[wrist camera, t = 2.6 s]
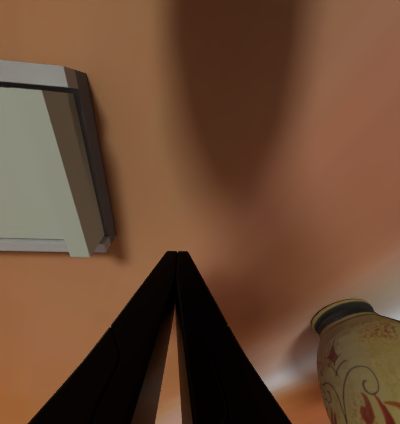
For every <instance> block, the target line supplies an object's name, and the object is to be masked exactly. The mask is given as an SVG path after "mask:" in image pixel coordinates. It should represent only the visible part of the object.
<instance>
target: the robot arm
mask: <svg viewBox="0 0 400 424" xmlns="http://www.w3.org/2000/svg"><path fill="white" fill-rule="evenodd" d="M174 310H175V315H176V331H177V347H178V364H179V380H180V396H181V413H182V424H292V423H291V422H290V420H289V419H288V417H287V416H286V414H285V413H284V411H283V410H282V408H281V407H280V406H279V404H278V403H277V401H276V400H275V398H274V397H273V395H272V394H271V392H270V391H269V390H268V388H267V387H266V385H265V384H264V382H263V381H262V379H261V378H260V376H259V375H258V373H257V372H256V370H255V369H254V367H253V366H252V364H251V363H250V361H249V360H248V358H247V357H246V355H245V353H244V352H243V350H242V348H241V346H240V345H239V343H238V341H237V340H236V338H235V336H234V334H233V332H232V331H231V329H230V327H229V326H227V325H228V324H227V322H226V320H225V318H224V316H223V314H222V313H221V311H220V309H219V307H218V305H217V304H216V302H215V300H214V298H213V296H212V294H211V293H210V291H209V289H208V287H207V285H206V283H205V282H204V280H203V278H202V276H201V274H200V273H199V271H198V269H197V267H196V265H195V263H194V262H193V260H192V258H191V256H190V254H189V253H188V252H187V251H179V252H178V253H177V251H167V252H166V253H165V255H164V256H163V257H162V258H161V260H160V261H159V262H158V264H157V265H156V266H155V268H154V269H153V270H152V272H151V273H150V274H149V276H148V277H147V278H146V280H145V281H144V282H143V284H142V285H141V286H140V288H139V289H138V290H137V292H136V293H135V294H134V296H133V297H132V298H131V299H130V301H129V302H128V303H127V305H126V306H125V307H124V309H123V310H122V311H121V313H120V314H119V315H118V317H117V318H116V319H115V321H114V322H113V323H112V325H111V327H110V328H108V330H107V331H106V332H105V334H104V335H103V336H102V338H101V339H100V340H99V342H98V343H97V344H96V345H95V347H94V348H93V349H92V350H91V352H90V353H89V354H88V355H87V357H86V358H85V359H84V360H83V362H82V363H81V364H80V365H79V366H78V367H77V369H76V370H75V371H74V372H73V373H72V374H71V376H70V377H69V378H68V379H67V380H66V381H65V382H64V384H63V385H62V386H61V387H60V388H59V389H58V390H57V391H56V393H55V394H54V395H53V396H52V397H51V398H50V399H49V400H48V402H47V403H46V404H45V405H44V406H43V407H42V408H41V409H40V410H39V412H38V413H37V414H36V415H35V416H34V417H33V418H32V419H31V421H30V422H29V423H28V424H155V419H156V413H157V408H158V402H159V396H160V391H161V385H162V379H163V374H164V368H165V362H166V356H167V351H168V345H169V339H170V334H171V328H172V322H173V316H174Z"/></svg>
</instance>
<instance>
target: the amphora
mask: <svg viewBox="0 0 400 424" xmlns="http://www.w3.org/2000/svg"><path fill="white" fill-rule="evenodd" d="M312 328H313V330H314V331H315V332H316V333H318V334H319V335H320V342H319V347H318V352H317V370H318V379H319V385H320V389H321V394H322V398H323V402H324V405H325V408H326V411H327V414H328V417H329V419H330V422H331V424H400V321H398V320H395V319H392V318H388V317H385V316H381V315H379V314H377V313H376V312H374V310H373V308H372V306H371V305H370V304H369V303H368V302H366V301H364V300H359V299H349V300H343V301H340V302H337V303H334V304H332V305H329V306H328V307H326V308H324V309H323V310H321V311H320V312H319V313H318V314H317V315H316V316H315V317H314V319H313V321H312Z"/></svg>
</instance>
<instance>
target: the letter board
mask: <svg viewBox="0 0 400 424" xmlns="http://www.w3.org/2000/svg"><path fill="white" fill-rule="evenodd" d="M0 87H4V88H22V89H33V90H44V91H53V92H63V93H72V94H73V95H74V99H75V104H76V108H77V113H78V117H79V122H80V126H81V131H82V135H83V140H84V144H85V149H86V153H87V158H88V163H89V167H90V172H91V176H92V181H93V185H94V190H95V194H96V199H97V203H98V208H99V212H100V217H101V221H102V226H103V230H104V237H103V238H102V240H101V241H100V243H99V244H98V246H97V247H96V249H95V250H94V252H99V253H106V252H107V250H108V248H109V247H110V245H111V243H112V241H113V240H114V238H115V236H116V233H115V228H114V222H113V217H112V212H111V206H110V201H109V195H108V190H107V184H106V179H105V174H104V168H103V163H102V157H101V152H100V146H99V141H98V135H97V130H96V125H95V119H94V114H93V108H92V103H91V97H90V92H89V87H88V81H87V76H86V73H83V72H80V71H77V70H74V69H71V68H67V67H64V66H56V65H46V64H35V63H25V62H15V61H5V60H0ZM0 251H48V252H69V251H68V248H67V246H66V243H65V240H64V239H30V238H0Z"/></svg>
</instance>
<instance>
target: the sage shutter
mask: <svg viewBox="0 0 400 424" xmlns="http://www.w3.org/2000/svg"><path fill="white" fill-rule="evenodd" d="M103 237H104V230H103V226H102V221H101V217H100V212H99V208H98V203H97V199H96V194H95V190H94V185H93V181H92V176H91V172H90V167H89V163H88V158H87V153H86V149H85V144H84V140H83V135H82V131H81V126H80V122H79V117H78V113H77V108H76V104H75V99H74V95H73V94H72V93H63V92H53V91H44V90H33V89H22V88H4V87H0V238H30V239H64V240H65V243H66V246H67V248H68V251H69V254H70V257H90V256H91V255H92V253H93V252H94V250H95V249H96V247H97V246H98V244H99V243H100V241H101V240H102V238H103Z"/></svg>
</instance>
